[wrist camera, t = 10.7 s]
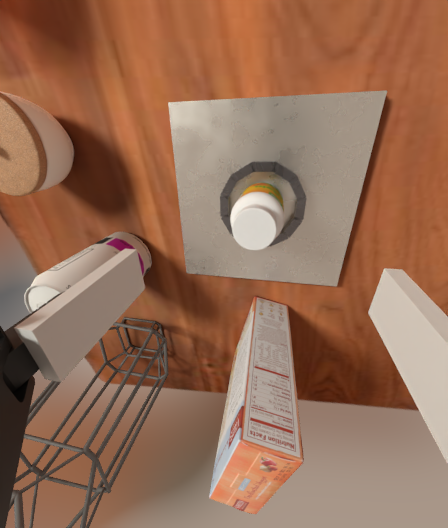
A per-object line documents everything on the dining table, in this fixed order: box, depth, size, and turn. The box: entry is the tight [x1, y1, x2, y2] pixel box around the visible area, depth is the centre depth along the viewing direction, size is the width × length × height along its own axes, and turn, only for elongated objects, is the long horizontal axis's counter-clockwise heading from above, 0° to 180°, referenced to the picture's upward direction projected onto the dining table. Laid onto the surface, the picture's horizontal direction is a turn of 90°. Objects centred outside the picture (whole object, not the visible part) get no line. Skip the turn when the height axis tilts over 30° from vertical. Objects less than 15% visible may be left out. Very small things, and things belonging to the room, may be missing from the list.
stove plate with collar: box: [168, 91, 387, 286], centre depth 28 cm, size 22×22×3 cm
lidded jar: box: [0, 92, 74, 196], centre depth 27 cm, size 11×11×9 cm
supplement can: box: [24, 232, 152, 313], centre depth 31 cm, size 8×8×15 cm
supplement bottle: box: [230, 182, 284, 250], centre depth 24 cm, size 5×5×10 cm
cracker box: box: [209, 296, 304, 514], centre depth 31 cm, size 14×6×21 cm, turn 168°
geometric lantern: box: [8, 317, 168, 528], centre depth 31 cm, size 16×16×35 cm
